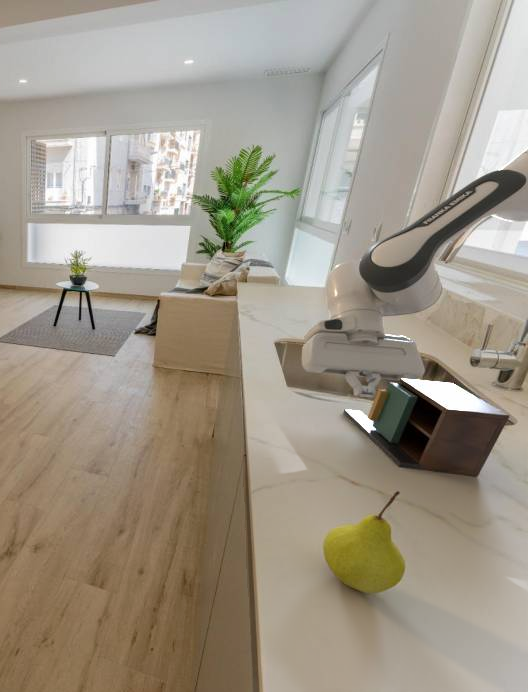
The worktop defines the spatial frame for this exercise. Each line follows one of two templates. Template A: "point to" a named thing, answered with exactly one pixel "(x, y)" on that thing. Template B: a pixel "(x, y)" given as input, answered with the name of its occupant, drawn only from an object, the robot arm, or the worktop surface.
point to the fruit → (365, 554)
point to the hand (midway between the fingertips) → (365, 395)
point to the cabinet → (441, 429)
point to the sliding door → (392, 411)
